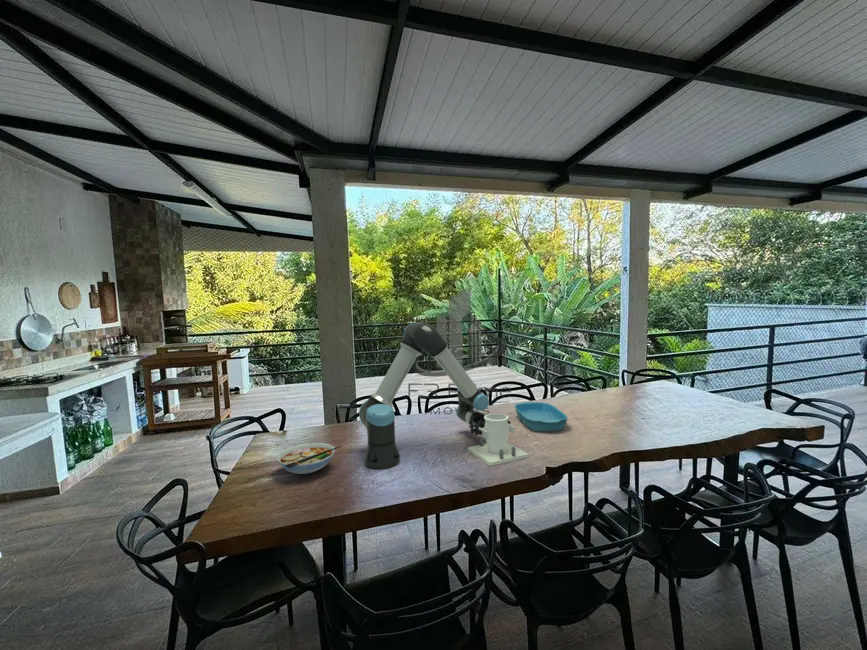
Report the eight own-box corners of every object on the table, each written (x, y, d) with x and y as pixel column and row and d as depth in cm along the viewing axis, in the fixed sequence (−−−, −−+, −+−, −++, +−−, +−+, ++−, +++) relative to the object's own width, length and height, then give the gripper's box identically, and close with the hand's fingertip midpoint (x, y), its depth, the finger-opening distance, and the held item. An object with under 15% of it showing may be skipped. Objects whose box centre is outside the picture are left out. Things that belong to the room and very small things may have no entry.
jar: (483, 454, 164) (482, 420, 164) (486, 445, 175) (485, 412, 174) (509, 455, 162) (508, 420, 161) (509, 446, 172) (509, 413, 171)
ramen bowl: (317, 454, 175) (316, 436, 175) (349, 466, 161) (348, 447, 160) (264, 474, 156) (263, 454, 155) (295, 490, 141) (293, 468, 141)
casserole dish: (574, 433, 191) (574, 419, 190) (530, 436, 189) (530, 421, 189) (547, 412, 228) (547, 400, 227) (510, 414, 226) (510, 402, 226)
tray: (489, 466, 156) (489, 454, 156) (467, 450, 173) (467, 439, 173) (528, 457, 163) (528, 446, 163) (503, 442, 181) (503, 432, 180)
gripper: (498, 422, 189) (524, 436, 170) (453, 431, 180) (475, 446, 160) (498, 407, 189) (524, 419, 169) (452, 415, 179) (474, 428, 160)
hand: (500, 432), depth 165 cm, fingers open, 13 cm apart
